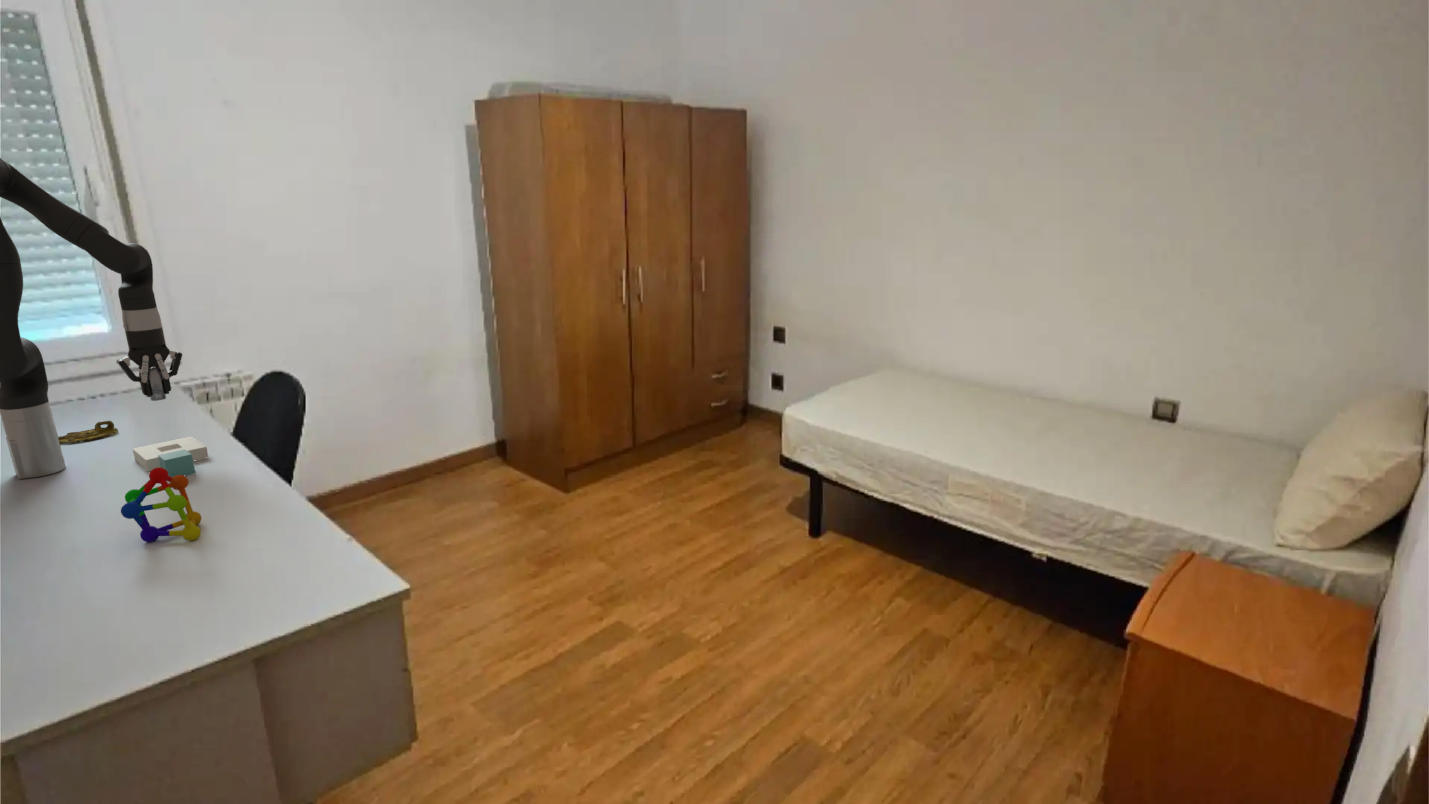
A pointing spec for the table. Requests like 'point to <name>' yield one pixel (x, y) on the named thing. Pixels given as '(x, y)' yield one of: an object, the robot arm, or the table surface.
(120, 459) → the table surface
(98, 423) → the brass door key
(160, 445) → the board
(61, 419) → the table surface
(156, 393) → the peg
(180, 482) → the educational toy
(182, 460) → the frosted teal cube
